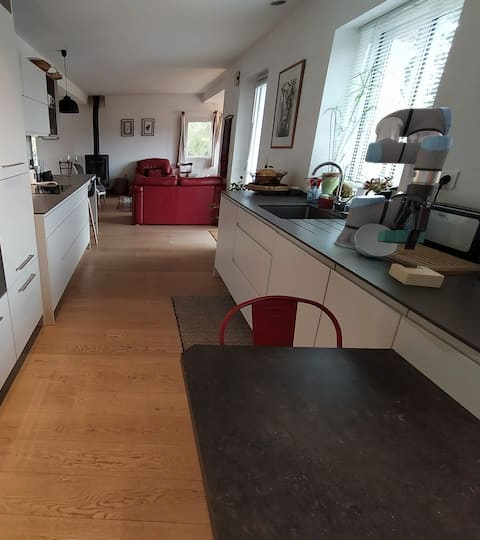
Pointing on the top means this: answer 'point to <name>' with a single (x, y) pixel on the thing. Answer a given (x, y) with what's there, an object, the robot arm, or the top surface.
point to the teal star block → (397, 236)
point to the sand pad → (416, 276)
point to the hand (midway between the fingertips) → (401, 245)
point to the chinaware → (372, 241)
